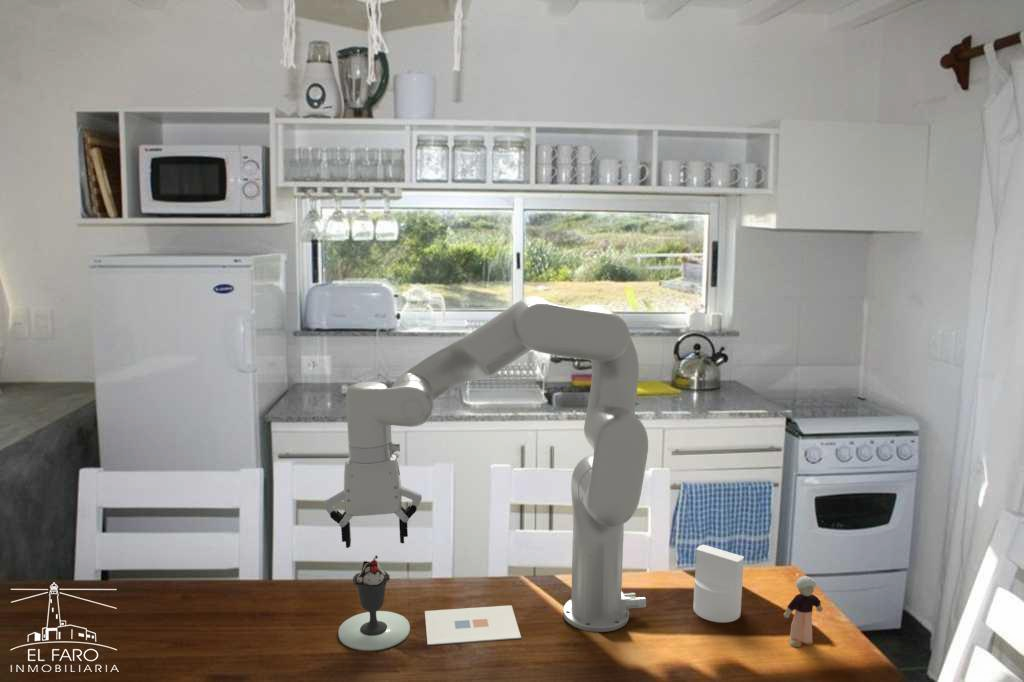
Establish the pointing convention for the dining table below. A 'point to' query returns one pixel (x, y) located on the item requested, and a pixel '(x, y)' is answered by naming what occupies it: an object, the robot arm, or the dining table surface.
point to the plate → (390, 637)
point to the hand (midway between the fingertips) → (375, 542)
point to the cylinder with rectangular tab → (718, 584)
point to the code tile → (471, 625)
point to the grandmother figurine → (802, 612)
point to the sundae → (372, 594)
